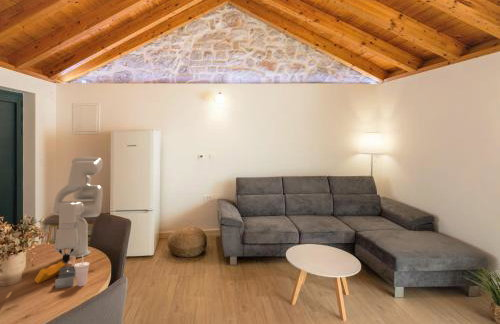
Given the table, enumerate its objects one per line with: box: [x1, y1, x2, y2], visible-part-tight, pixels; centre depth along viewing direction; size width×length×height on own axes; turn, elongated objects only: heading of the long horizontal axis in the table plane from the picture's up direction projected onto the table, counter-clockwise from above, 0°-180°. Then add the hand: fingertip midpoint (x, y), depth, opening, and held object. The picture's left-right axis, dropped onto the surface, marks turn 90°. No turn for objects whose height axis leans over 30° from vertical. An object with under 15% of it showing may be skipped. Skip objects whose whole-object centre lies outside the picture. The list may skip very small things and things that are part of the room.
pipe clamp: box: [33, 260, 65, 284], centre depth 149 cm, size 12×4×6 cm
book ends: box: [54, 266, 76, 289], centre depth 147 cm, size 17×7×4 cm, turn 26°
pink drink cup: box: [74, 255, 90, 287], centre depth 143 cm, size 6×6×14 cm
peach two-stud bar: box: [63, 256, 77, 267], centre depth 162 cm, size 12×4×5 cm, turn 21°
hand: (66, 262), depth 157 cm, fingers closed
